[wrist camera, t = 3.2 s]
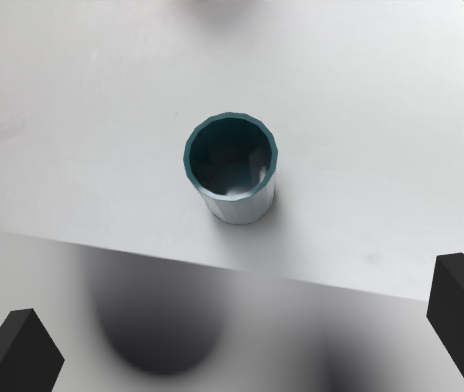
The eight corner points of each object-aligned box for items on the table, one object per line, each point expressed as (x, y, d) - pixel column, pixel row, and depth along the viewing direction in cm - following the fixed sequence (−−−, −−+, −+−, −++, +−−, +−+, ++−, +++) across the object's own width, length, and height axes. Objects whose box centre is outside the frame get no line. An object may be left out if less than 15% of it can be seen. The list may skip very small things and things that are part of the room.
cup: (201, 220, 38) (176, 195, 28) (211, 155, 40) (191, 108, 29) (269, 228, 37) (271, 206, 27) (277, 162, 39) (282, 116, 28)
